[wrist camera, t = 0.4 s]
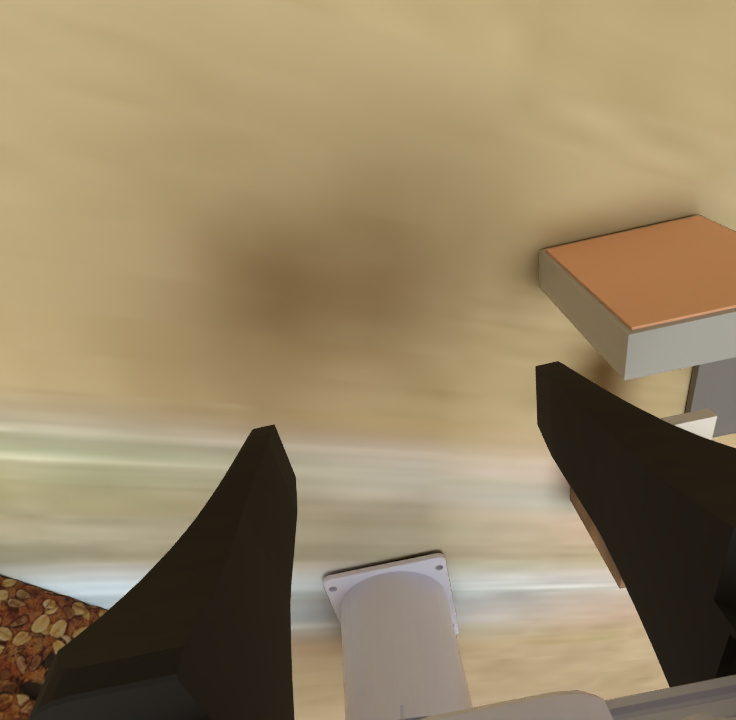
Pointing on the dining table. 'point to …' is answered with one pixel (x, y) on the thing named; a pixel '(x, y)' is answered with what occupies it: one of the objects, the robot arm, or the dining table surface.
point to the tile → (649, 294)
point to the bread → (33, 640)
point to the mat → (715, 393)
